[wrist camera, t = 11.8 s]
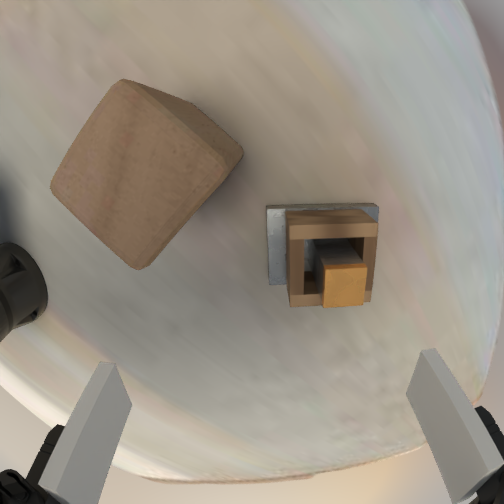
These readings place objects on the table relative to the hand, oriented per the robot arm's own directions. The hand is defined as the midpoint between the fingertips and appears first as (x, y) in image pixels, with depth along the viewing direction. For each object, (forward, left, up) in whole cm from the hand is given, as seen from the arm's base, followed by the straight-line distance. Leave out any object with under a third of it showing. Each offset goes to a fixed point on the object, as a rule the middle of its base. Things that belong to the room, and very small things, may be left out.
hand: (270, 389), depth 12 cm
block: (-9, +8, -29) cm, 32 cm away
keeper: (+7, -4, -29) cm, 30 cm away
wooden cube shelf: (+7, -4, -27) cm, 28 cm away
